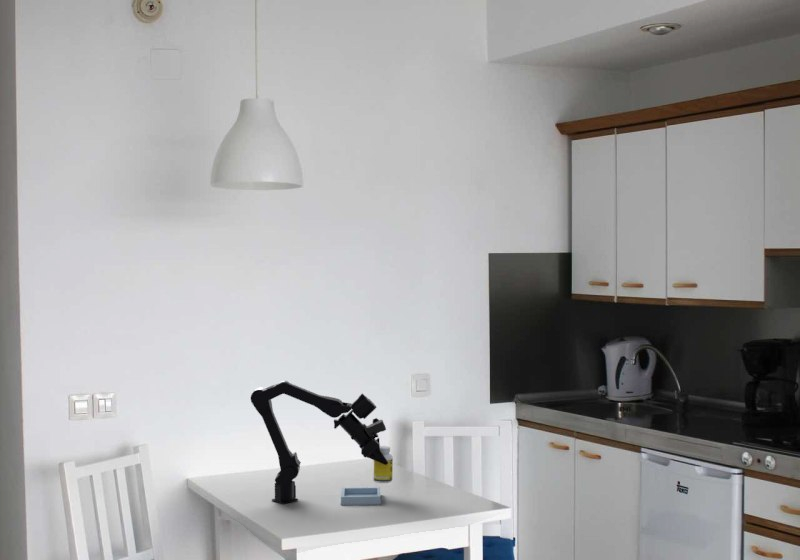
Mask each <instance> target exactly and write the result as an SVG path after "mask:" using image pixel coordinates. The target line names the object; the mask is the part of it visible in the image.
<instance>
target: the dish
mask: <svg viewBox="0 0 800 560" xmlns="http://www.w3.org/2000/svg"><path fill="white" fill-rule="evenodd" d="M340 494H341V495H340V506H348V505H349V506H350V505H351V506H353V505H354V506H355V505H359V506H363V505H365V506H366V505H368V504H369V505H381V487H379V486H376V487H374V486H373V487H368V486H367V487H342V488H341V493H340Z"/></svg>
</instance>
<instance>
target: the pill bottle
mask: <svg viewBox="0 0 800 560" xmlns="http://www.w3.org/2000/svg"><path fill="white" fill-rule="evenodd" d="M380 451H381V453H382V454H383V455H384V457H385V458H386V460H387V461H388V464H387V465H385V464H382V463H380V462H378V461H375V460H373V462H372V463H373V464H372V465H373V467H372V469H373V471H372V472H373V473H372V475H373V476H372V479H373V482H374V483H377V484H389V483H392V481H393V460H394V459H393V455H392V454H390V452H391V447H390V446H388V445H380Z"/></svg>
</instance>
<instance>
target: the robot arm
mask: <svg viewBox="0 0 800 560" xmlns="http://www.w3.org/2000/svg"><path fill="white" fill-rule="evenodd" d="M283 394H284V395H286V396H288V397H291V398H294V399H295V400H298V401H301V402H304V403H306V404H308V405H311V406H313V407H315V408H317V409H319V411H321V412H322V413H324V414H325V415H327V416H329V417H330V418H332V419H333V418H334V420H333V425H334V426H333V429H335V430H336V429H337V428H338V427H339V426H340V427H341V429H342V430H344V432H346V434H347V435H349V436H350V438H351V440H353V441H354V442H355V443H356V444H357V445H358V447H359V448H360V449H361V450H360V453H361V455H362V456H363V458H368V459H371V460H373V461H374V460H375V461H378V462H380V463H382V464H385V465H387V464H388V461H387V460H386V458H385V457H384V455H383V454H382V453H381V451H380V446H381V445H380V437H379V433H382V432H385V431H386V430H387V428H386V425H385V423H384V420H383V419H379V418H377V417H375V418H373V419H372V423H370V424H369V425H366V423H362V422H361V421H360V420H361V419H364V420H365V419H367V417H368V416H369V415H371V414H372V413H373V412H374V411H375V410H376V409H377V405H375V403H374V402H373V401H372V400H371V399H370V398H368V397H367V396H366V395H365V394H364V393H360V395H359V396H358V397H357V399H355V400H354V402H352V403H349V402H344V401H342V400H341V399H340V398H336V397H331V396H326V395H320V394H318V393H315V392H312V391H311V390H308V389H305V388H303V387H300V386H298V385H296V384H293V383H290V382H289V381H288V380H282V381H280V382H278V383H275V384H272V385H270V386H267V387H258V388H256V389H254V391H253V392H252V393H251V394H250V402H251V404H252V405H253V407H254V408H255V410H256V411H257V413H258V414H259V415H260V416H261V418H262V420H263V423H264V425H265V427H266V429H267V432H268V434H269V436H270V439H271V441H272V444H273V447H274V450H275V451H276V453H277V457H278V463H279V467H280V469H279V470H280V471H279V472H278V473H277V474H276V476H275V479H274V498H272V499H271V501H272V502H276V503H279V504H288V503H292V502H296V501H299V499H298V498H297V494H296V493H297V492H296V491H297V489H296V488H297V486H296V481H294V479H296V478H297V477H298V476H299V472H300V470H301V461H300V460H299V457H298V454H297V451H295V452H292V451H291V450H290V448H289V447H288V444H287V442H286V439H285V437H284V434H283V432H282V430H281V427H280V425H279V423H278V420H277V417H276V416H275V413H274V409H273V403H272V400H273V399H274V398H277V397H279V396H282V395H283ZM353 413H354V414H353ZM337 418H338V419H337Z"/></svg>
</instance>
